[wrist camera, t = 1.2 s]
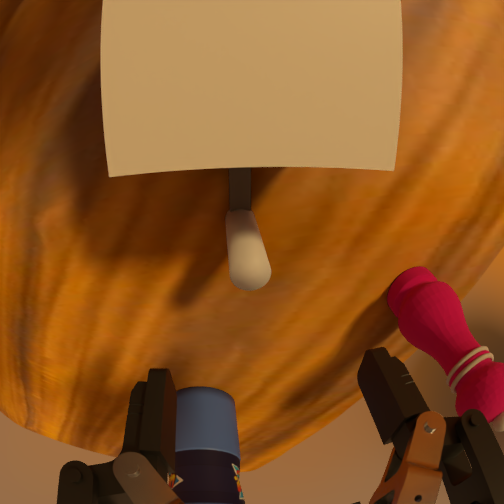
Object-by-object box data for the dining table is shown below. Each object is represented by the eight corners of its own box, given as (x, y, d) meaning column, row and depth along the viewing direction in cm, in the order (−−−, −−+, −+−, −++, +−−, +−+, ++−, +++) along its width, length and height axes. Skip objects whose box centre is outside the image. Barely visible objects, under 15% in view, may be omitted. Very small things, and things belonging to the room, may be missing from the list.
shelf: (157, -9, 15) (114, -77, 5) (319, -7, 16) (392, -61, 6) (158, 137, 20) (109, 177, 11) (317, 134, 22) (393, 170, 12)
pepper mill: (379, 320, 33) (458, 465, 15) (386, 269, 29) (497, 429, 12) (427, 305, 33) (513, 428, 15) (438, 256, 29) (551, 384, 12)
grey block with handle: (197, 14, 16) (188, -25, 9) (280, 15, 17) (312, -20, 10) (203, 234, 25) (200, 293, 18) (275, 231, 25) (299, 287, 18)
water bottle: (167, 417, 38) (167, 574, 17) (167, 382, 34) (164, 578, 12) (230, 421, 40) (248, 574, 18) (241, 388, 36) (268, 577, 14)
